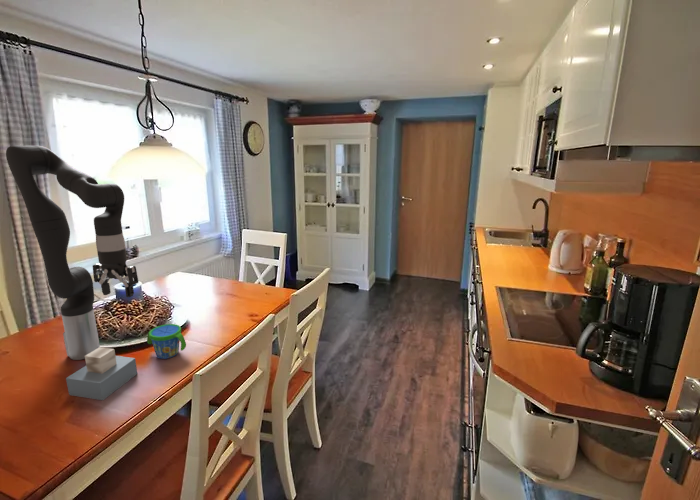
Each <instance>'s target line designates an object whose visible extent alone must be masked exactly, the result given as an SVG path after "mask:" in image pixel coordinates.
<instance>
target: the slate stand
mask: <svg viewBox="0 0 700 500" xmlns="http://www.w3.org/2000/svg"><path fill="white" fill-rule="evenodd" d="M115 356H116V363H117V364H116V365H114V366H113V367H111V368H110V369H109V370H107V371H106V372H104V373H103V374H101V373H95V372H88V371H87V367H86V365H85V366H82V368H80V369H78V370H77V371H75V372H74V373H72V374H70V375H69V376H67V377H65V381H66V386H67V391H68V395H69V396H73V397H80V398H85V399H86V398H87V399H91V400H92V399H93V400H99V401H104V400H106V399H107V398H108V397H109V396H111V395H112V394H113V393H114V392H116V391H117V390H118V389H119V388H122V386H124V385H125V384H126V383H127V382H129V381H130V380H132V379H133V378H134V377H135V376H136V375H138V369H137V362H136V358H135V357H128V356H121V355H115Z"/></svg>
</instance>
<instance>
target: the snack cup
mask: <svg viewBox="0 0 700 500" xmlns="http://www.w3.org/2000/svg"><path fill="white" fill-rule="evenodd" d="M181 332H182V327H181V326H180V325H179V324H176V323H167V324H161V325H158V326H156V327H154V328H152V329H151V330H149V331H148V333H147V338H146V340H147V341H146V342H147V344H148V345H152V346H153V349H154V352H155V356H156V358H158V359H160V360H161V359H164V360H167V359H171V358H173V357H176V356H177V355H178V353H179V350H180V352H181V351H184V350H185V349H186V347H187V343H186V339H185V337H184V335H183V334H182V333H181Z"/></svg>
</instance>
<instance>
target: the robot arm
mask: <svg viewBox="0 0 700 500" xmlns="http://www.w3.org/2000/svg"><path fill="white" fill-rule="evenodd" d="M5 157H6V158H5V159H6V161H7V162H6V163H7V165H8V168H9V170H10V172H11V175H12V176H13V178H14V181H15V183H16V185H17V187H18V189H19V192H20V194H21V197H22V199H23V202H24V205H25V207H26V210H27V214H28V218H29V220H30V223H31V224H30V225H31V226H32V229H33V232H34V235H35V237H36V240H37V243H38V245H39V249H40V252H41V256H42V258H43V263H44V268H45V273H46V277H47V281H48V282H47V283H48V286H49V288H50V290H51V292H52V293H53V294H54V295H55V296H56V297H58V298H59V299H66V300H65V301H64V302H63V303H62V304H61V306H60V313H61V318H62V319H61V320H62V324H63V330H64V331H63V333H62V335H63V341H64V344H65V345H64V346H65V350H66V355H67V357H69V359H71V360H73V361H79V360H80V361H81V360H85V355H87V354H89V353H91V352H92V351H94V350H96V349H97V348H99V347H101V346H100V340H99V334H98V329H97V322H96V317H95V312H94V311H95V310H94V303H95V291H94V282H95V283H99V285H100V286H101V287H100V288H101V292H102V294H103V296H108V295H110V294H111V292H112V291H111V287H110V286H111V284H110V282H109V281H110V280H111V279H115V280H118V281H119V282H120V283H122V284H123V285H124V291H125V297H126V298H131V297H133V296H134V294H135V291H134V285H137V284H139V276H138V272H137V267H136V265H131V266H128V265H127V260H128V256H127V249H126V242H125V237H124V234H123V227H122V226H123V225H122V217H123V216H122V215H123V211H124V205H125V193H124V191H123V190H122V188H121V187H120V186H119V185H118V184H115V183H98V181H97V179H96V178H94V177H92V176H90V174H89V175H88V174H87V173H85V172H83V171H81V170H78V169H77V168H75V167H73V166H72V165H70V164H69V163H68V162H66V160H64V159H63V158H61V157H60V156H59V155H58V154H57V153H55V152H54V151H52V150H51V149H49V148H48V147H46V146H42V145H10V146H8V147H7V149H6V150H5ZM46 174H49V175H53V176H55V177H56V180H57V183H58V184H59V185H60V187H62V188H63V189H65V190H67V192H68V191H69V192H70V193H72V194H75V195H76V196H77V197H78V198H79V199H80V200H81V201H82V202H83V204H85V206H87V207H89V208H94V209H101V208H105V210H104V212H103V213H101V214H99V215H96V216H95V217H94V218H93V226H94V233H95V245H96V251H97V259H98V263H95V264H92V273H93V278H92V275H91V273H90V272H89V270H87V269H86V268H85V267H82V266H73V267H69V264H68V259H67V252H68V246H69V243H70V239H71V231H70V225H69V223H68V218H67V216H66V214H65V212H64V210H63V209H62V208H61V206H59V205H58V204H57V203H55V202H54V200H52V199H50V198H49V197H48V196H47V195H46V194H45V193H44V192H43V191H42V190H41V188H40V187H39V185H38V183H37V182H36V180H35V178H34V176H39V175H46ZM93 281H94V282H93Z"/></svg>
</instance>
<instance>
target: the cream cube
mask: <svg viewBox="0 0 700 500" xmlns="http://www.w3.org/2000/svg"><path fill="white" fill-rule="evenodd" d="M116 356H117V355H116V352H115V349H114V348H110V347H101V346H100V347H99V348H97V349H96V350H94V351H92V352H91V353H89V354H87V355H85V359H84V360H85V364H86V365H85V366H86V367H87V371H88V372H95V373H101V374H103V373H104V372H106V371H107V370H109V369H110V368H111V367H113V366H114V365H116V364H117V363H116Z"/></svg>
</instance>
